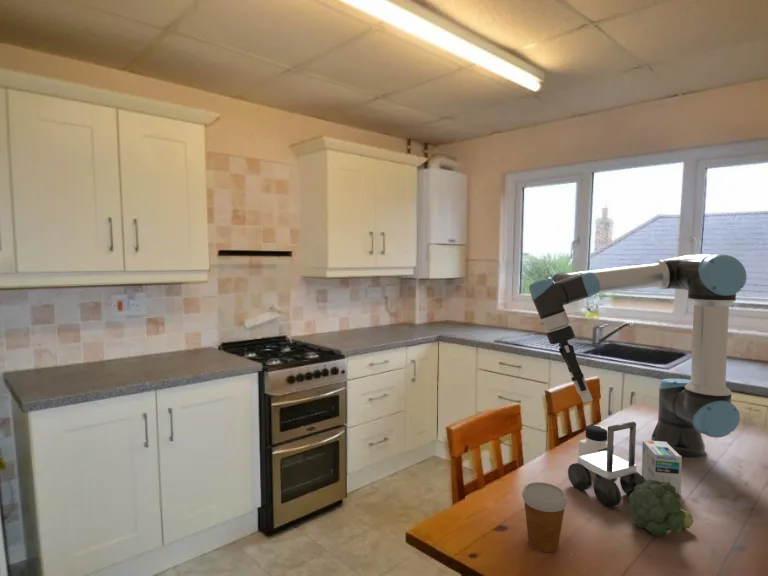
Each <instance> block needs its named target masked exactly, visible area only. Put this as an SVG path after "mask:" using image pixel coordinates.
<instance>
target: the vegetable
mask: <svg viewBox="0 0 768 576" xmlns="http://www.w3.org/2000/svg"><path fill="white" fill-rule="evenodd" d="M679 499H680V495H679V494H678V493H676V489H675V487H673V486H672V485H671V484H670V483H666V482H659V481H656V480H653V479H649V480H645V482H644V483H643V484H639V485H636V486H635V488H634V491H633V492H632V493H631V494H630V496H629V497H628V501H629V504H630V507H629V512H630V517H631V520H632V521H633V522H634V523H635V524H636V525H637V526H638V527H639V528H640V529H641V528H642V529H643V528H646V530H647V531H648V532H650V533H651V534H652V535H655V536H659V537H660V536H662V535H665V534H667V533H668V531H672V532H677V533H681V532H682V531H683V529H690V527H691V526H693V523H694V519H693V516H692V514H691V513H690V511H687V510H685V509H681V502H680V500H679Z"/></svg>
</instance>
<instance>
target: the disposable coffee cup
mask: <svg viewBox="0 0 768 576" xmlns="http://www.w3.org/2000/svg"><path fill="white" fill-rule="evenodd" d="M521 496H522V499H523V501H524V503H523V504H524V511H525V519H526V530H527V538H528V539H527V540H528V544H529V545H530V546H531V547H532V548H533V549H534V550H537V551H539V552H543V553H553V552H555V551H557V550H558V549H559V542H560V539H561V531H562V525H563V520H564V513H565V509H566V506H567V504H568V498H567V497H566V493H565V492H564V490H562V489H561V488H560V487H559V486H557V485H554V484H551V483H547V482H539V481H538V482H530V483H528V484H526V485H525V486H524V488H523V491H522V492H521Z"/></svg>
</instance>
